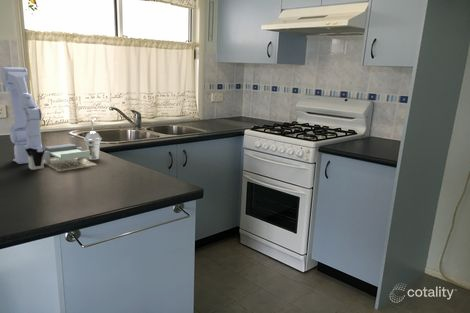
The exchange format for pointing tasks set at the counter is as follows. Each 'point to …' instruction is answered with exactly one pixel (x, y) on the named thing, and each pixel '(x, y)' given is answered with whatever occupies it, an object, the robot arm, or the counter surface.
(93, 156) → the cup with straw
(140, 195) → the counter surface
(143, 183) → the counter surface
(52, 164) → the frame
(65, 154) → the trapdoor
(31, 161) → the white rectangular block
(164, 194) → the counter surface
